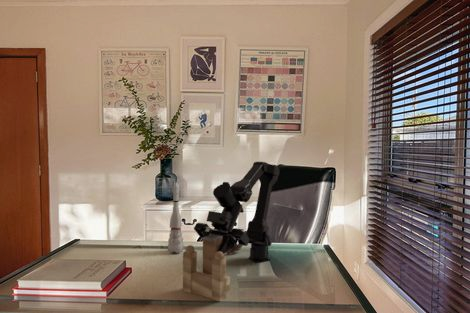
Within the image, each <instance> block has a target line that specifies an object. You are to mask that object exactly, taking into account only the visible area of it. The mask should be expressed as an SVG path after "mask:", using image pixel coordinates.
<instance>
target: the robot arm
mask: <svg viewBox="0 0 470 313" xmlns="http://www.w3.org/2000/svg"><path fill="white" fill-rule="evenodd" d="M279 176H280V168H279V167H278V166H277V164H271V163H269V162H266V161H254V162H253V164H252V166H251V168H250V169H249V170H248V171H247V173H246V174H245V175H244V177H242V179H241V180H238V181H236V182H234V183H233V184H230V183H229V182H227V181H223V182H222V183H221V184H220V185H217V186H216V187H215V188H214V189H213V192H212V194H213V196H214V198H215V200H216V201H217V202H218V204H219V205H220V207H221V208H222V211H221V212H219V211H208V214H207V218H206V222H210V223H211V227H213V228H211V227H210V225H208V224H207V223H203V222H197V223H195V225H194V227H193V230H194V231H195V233H196V234H197V235H198V236H199V237H200V238H202V239H203V237H205V236H208V235H210V234H213V235H218V236H223V241H222V243H221V246H220V248H219V250H218V251H221V252H222V253H223V254H224V255H225V254H227V253H226V252H227V251H228V250H230V249H231V248H233V247H234V246H237V245H238V244H239V245H243V246H245V247H247V246H248V245H250V248H249V249H250V250H249V256H248V258H249V259H250V260H252V261H254V262H255V263H262V262H265V261H271V258H270V257H269V247H271V246H272V243H273V238H272V236H271V234H270V231H269V230H270V227H269V225H268V223H267V218H268V212H269V207H270V202H271V201H270V200H271V193H272V190H273V186H274V185H275V184H276V183H277V181H278V178H279ZM258 181H259V182H260V185H259V190H258V195H257V200H256V205H255V206H256V208H255V212H254V218H253V219H252V220H250V221H248V223H247V229H246V231H245V230H244V229H243V228H236V227H237V226H238V223H237V220H238V218H239V216H240V214H241V213H242V214H243V213H244V212H245V211H244V207H243V204H241V203H247V202H249V201H250V198H251V197H252V195H253V190H252V189H253V187H254V186H255V185H256V184H257V182H258ZM240 202H241V203H240ZM237 243H238V244H237Z"/></svg>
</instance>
